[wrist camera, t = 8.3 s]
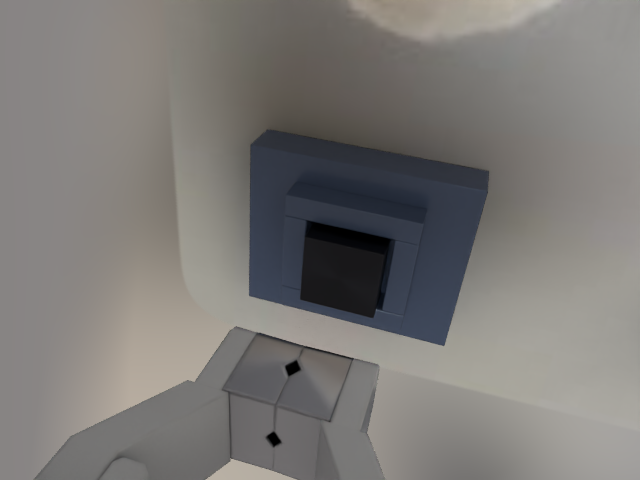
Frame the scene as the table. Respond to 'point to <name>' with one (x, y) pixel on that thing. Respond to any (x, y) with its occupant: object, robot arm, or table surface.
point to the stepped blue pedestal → (365, 225)
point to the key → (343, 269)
